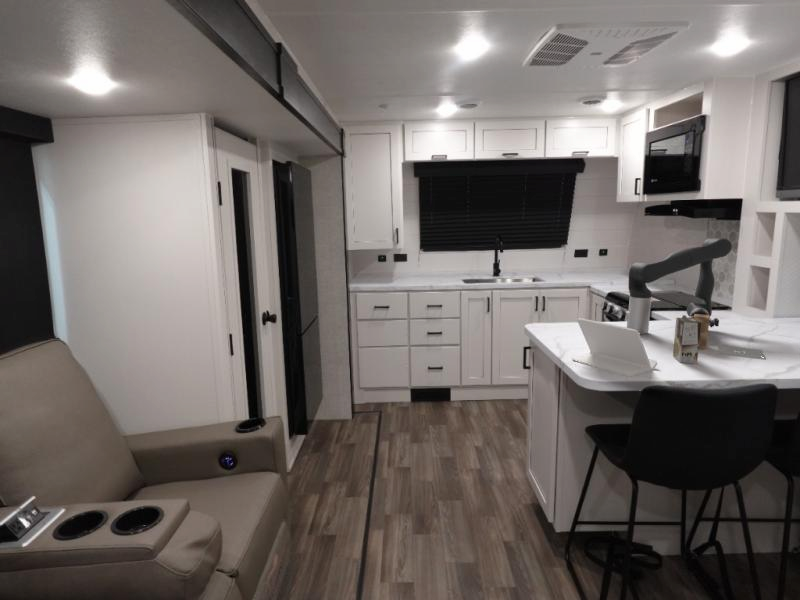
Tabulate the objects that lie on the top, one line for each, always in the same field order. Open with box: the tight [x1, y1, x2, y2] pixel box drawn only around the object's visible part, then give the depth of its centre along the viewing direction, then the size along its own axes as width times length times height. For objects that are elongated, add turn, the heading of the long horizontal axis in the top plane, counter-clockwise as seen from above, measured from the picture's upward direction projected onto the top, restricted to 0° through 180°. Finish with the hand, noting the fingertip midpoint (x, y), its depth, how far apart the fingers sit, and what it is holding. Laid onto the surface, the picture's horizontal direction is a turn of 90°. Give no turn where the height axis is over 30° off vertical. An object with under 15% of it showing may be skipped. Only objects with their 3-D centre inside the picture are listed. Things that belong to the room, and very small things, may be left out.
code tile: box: [716, 344, 767, 361], centre depth 210 cm, size 16×16×1 cm
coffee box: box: [672, 317, 701, 364], centre depth 199 cm, size 9×6×16 cm
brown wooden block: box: [694, 314, 711, 351], centre depth 216 cm, size 6×6×14 cm
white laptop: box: [571, 317, 658, 378], centre depth 194 cm, size 18×25×17 cm
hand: (700, 324), depth 222 cm, fingers open, 8 cm apart
